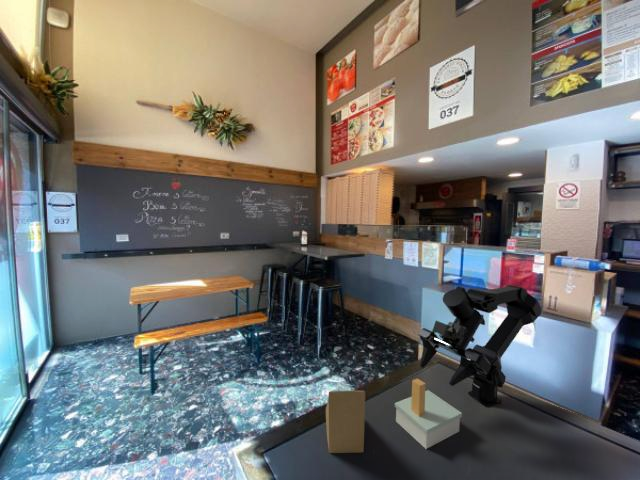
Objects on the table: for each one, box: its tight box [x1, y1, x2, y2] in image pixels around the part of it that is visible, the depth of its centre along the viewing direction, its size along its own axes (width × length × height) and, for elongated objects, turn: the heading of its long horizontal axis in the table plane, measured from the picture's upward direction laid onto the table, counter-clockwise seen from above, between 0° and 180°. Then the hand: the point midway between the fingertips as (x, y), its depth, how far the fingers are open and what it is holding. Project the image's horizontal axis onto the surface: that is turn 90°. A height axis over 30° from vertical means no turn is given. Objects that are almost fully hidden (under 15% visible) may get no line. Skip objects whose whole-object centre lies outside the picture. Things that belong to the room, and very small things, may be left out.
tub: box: [395, 407, 461, 450], centre depth 71 cm, size 12×10×4 cm
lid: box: [394, 378, 463, 434], centre depth 71 cm, size 13×11×10 cm
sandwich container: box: [325, 389, 366, 454], centre depth 70 cm, size 9×15×15 cm, turn 2°
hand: (435, 375), depth 71 cm, fingers open, 9 cm apart
